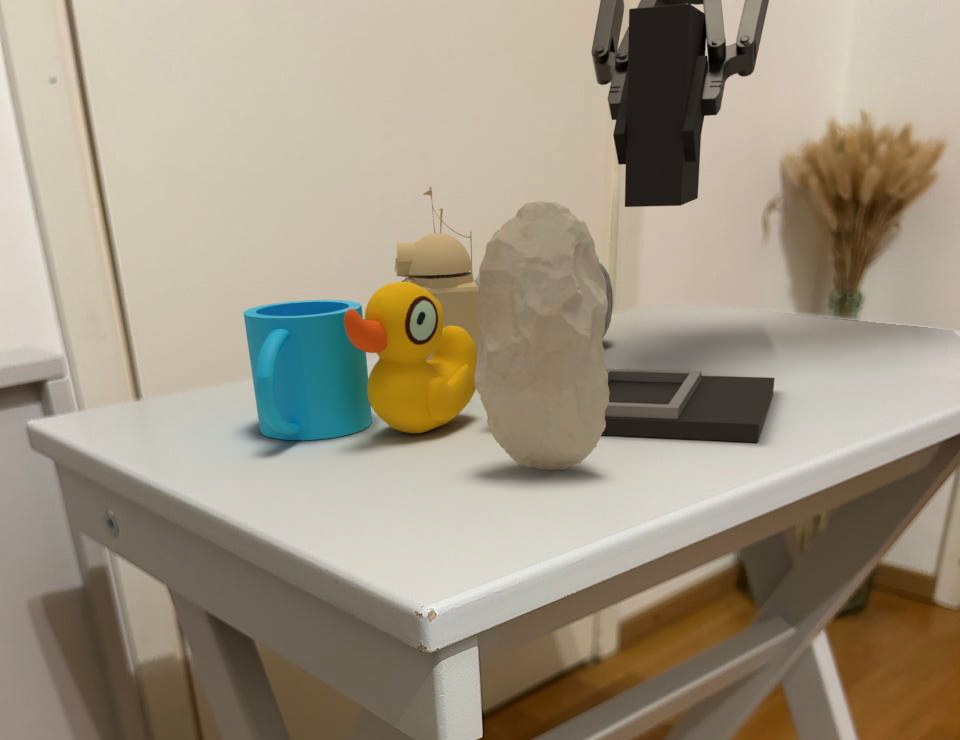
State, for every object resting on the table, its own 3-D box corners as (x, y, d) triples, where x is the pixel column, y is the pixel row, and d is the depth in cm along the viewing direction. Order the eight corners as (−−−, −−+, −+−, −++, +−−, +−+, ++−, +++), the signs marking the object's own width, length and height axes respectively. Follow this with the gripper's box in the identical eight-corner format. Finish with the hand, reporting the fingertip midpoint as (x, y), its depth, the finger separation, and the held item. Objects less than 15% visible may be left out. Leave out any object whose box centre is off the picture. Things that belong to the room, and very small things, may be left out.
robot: (387, 370, 89) (372, 187, 83) (476, 364, 90) (469, 182, 83) (389, 395, 80) (373, 192, 73) (489, 389, 81) (482, 187, 74)
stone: (611, 456, 62) (617, 195, 56) (606, 482, 58) (611, 201, 51) (488, 454, 64) (478, 200, 57) (473, 480, 59) (461, 206, 52)
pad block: (697, 198, 76) (707, 14, 71) (681, 205, 69) (690, 3, 64) (646, 200, 77) (651, 19, 72) (624, 207, 71) (629, 8, 65)
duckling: (388, 456, 64) (374, 294, 60) (332, 444, 68) (315, 290, 63) (499, 418, 72) (494, 272, 68) (444, 409, 75) (436, 269, 71)
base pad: (773, 393, 76) (775, 366, 75) (757, 442, 64) (760, 411, 63) (545, 385, 81) (545, 360, 80) (492, 429, 69) (491, 401, 68)
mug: (286, 410, 77) (272, 300, 73) (386, 412, 75) (377, 299, 71) (214, 454, 67) (194, 328, 63) (328, 457, 65) (314, 328, 61)
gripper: (819, -64, 76) (782, 184, 69) (600, -42, 81) (546, 191, 75) (824, -169, 69) (784, 96, 62) (584, -137, 74) (524, 110, 68)
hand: (655, 147), depth 69 cm, fingers closed on pad block, 4 cm apart
